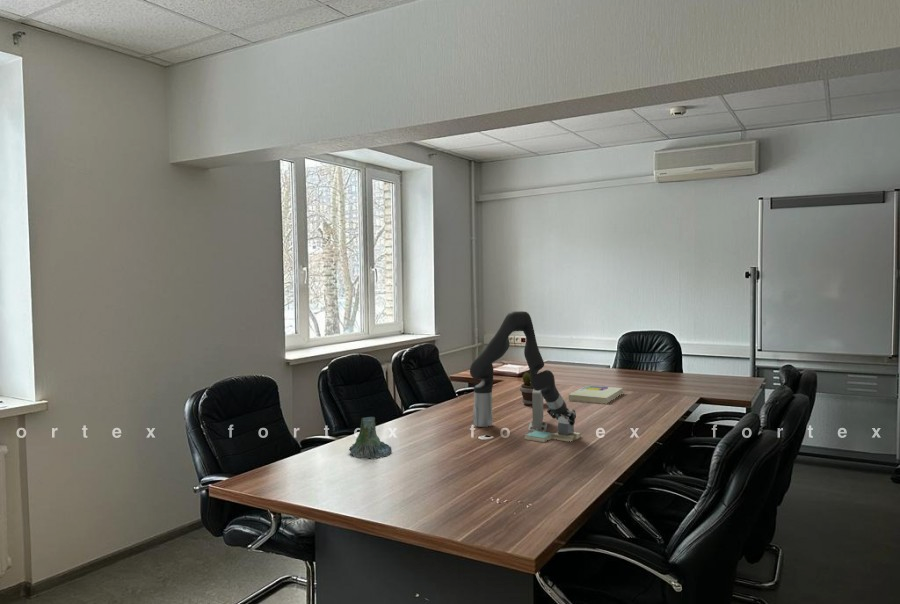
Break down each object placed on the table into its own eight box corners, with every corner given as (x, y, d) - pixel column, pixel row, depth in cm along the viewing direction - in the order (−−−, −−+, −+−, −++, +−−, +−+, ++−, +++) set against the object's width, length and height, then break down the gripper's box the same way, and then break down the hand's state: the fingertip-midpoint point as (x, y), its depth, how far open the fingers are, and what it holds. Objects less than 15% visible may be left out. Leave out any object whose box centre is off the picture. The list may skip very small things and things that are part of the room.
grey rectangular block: (567, 435, 294) (567, 412, 294) (558, 434, 297) (557, 411, 297) (573, 433, 299) (573, 409, 299) (564, 431, 302) (563, 408, 302)
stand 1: (543, 442, 292) (543, 437, 291) (524, 439, 298) (524, 434, 297) (554, 437, 299) (554, 433, 299) (535, 434, 306) (535, 430, 305)
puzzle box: (567, 402, 385) (606, 405, 373) (567, 394, 385) (606, 397, 373) (587, 392, 416) (624, 394, 404) (587, 385, 416) (624, 387, 404)
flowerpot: (549, 403, 379) (548, 369, 379) (538, 407, 367) (537, 373, 366) (526, 400, 387) (526, 368, 386) (515, 405, 374) (515, 371, 374)
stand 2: (570, 441, 291) (570, 437, 291) (551, 438, 297) (551, 434, 297) (580, 437, 299) (580, 433, 299) (561, 434, 305) (561, 430, 305)
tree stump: (352, 462, 267) (347, 419, 271) (348, 460, 286) (344, 420, 290) (395, 456, 272) (390, 413, 275) (388, 455, 291) (384, 415, 294)
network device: (545, 433, 307) (544, 392, 306) (527, 433, 309) (526, 392, 308) (547, 421, 332) (547, 383, 331) (531, 421, 334) (530, 383, 333)
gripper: (572, 396, 287) (584, 418, 297) (544, 393, 296) (556, 414, 306) (567, 410, 283) (579, 431, 293) (538, 407, 292) (551, 427, 302)
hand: (567, 422), depth 299 cm, fingers closed on grey rectangular block, 5 cm apart
